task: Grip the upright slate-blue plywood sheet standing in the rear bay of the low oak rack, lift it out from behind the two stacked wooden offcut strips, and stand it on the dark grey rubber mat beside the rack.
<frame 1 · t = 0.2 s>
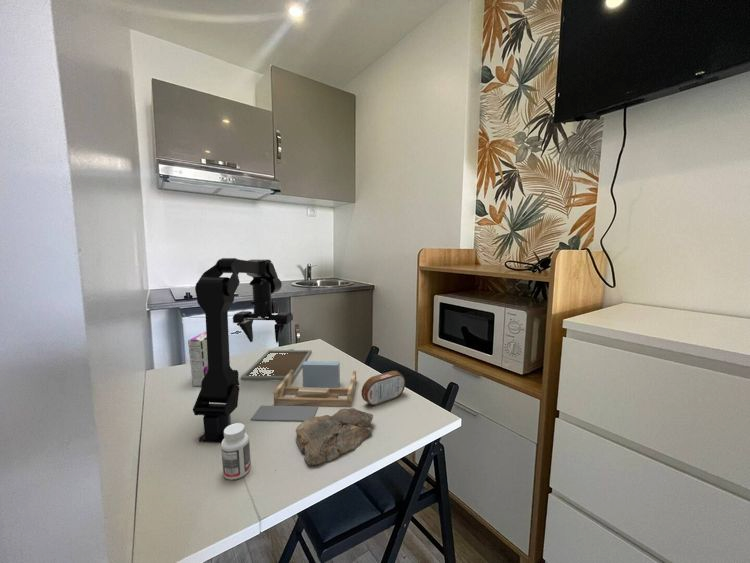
hand: (264, 342, 103), 15 cm above the table, tool pointing down, fingers open, 9 cm apart
brown rock: (338, 438, 75), on the table
sheet: (321, 385, 102), on the table
pill bottle: (237, 471, 64), on the table
offcut upper: (313, 395, 93), point 1 cm above the table, touching offcut lower
mat: (285, 414, 85), on the table
rack: (318, 392, 97), on the table
offcut lower: (316, 401, 93), on the table, touching offcut upper
grey picture frame: (281, 365, 121), on the table
candy bar box: (208, 380, 107), on the table
tin: (384, 401, 93), on the table
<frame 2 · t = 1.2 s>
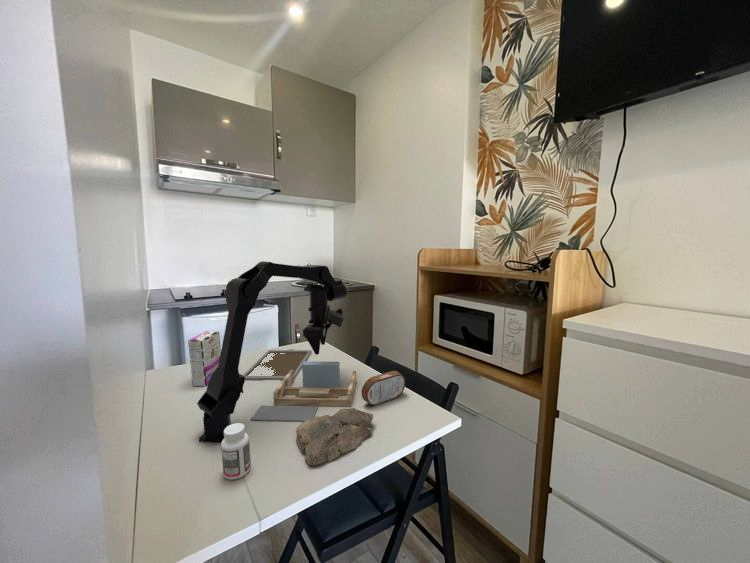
hand: (320, 349, 101), 13 cm above the table, tool pointing down, fingers open, 9 cm apart
nothing on the table moved.
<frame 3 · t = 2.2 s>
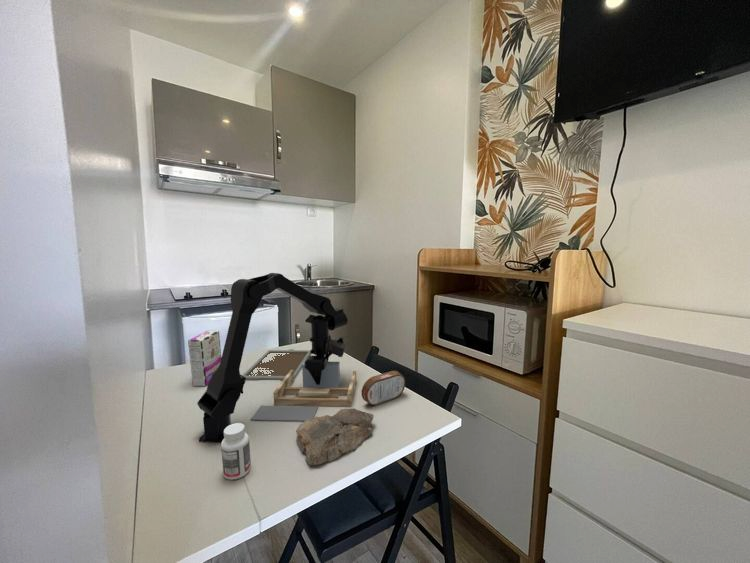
hand: (321, 378, 102), 3 cm above the table, tool pointing down, fingers open, 9 cm apart
nothing on the table moved.
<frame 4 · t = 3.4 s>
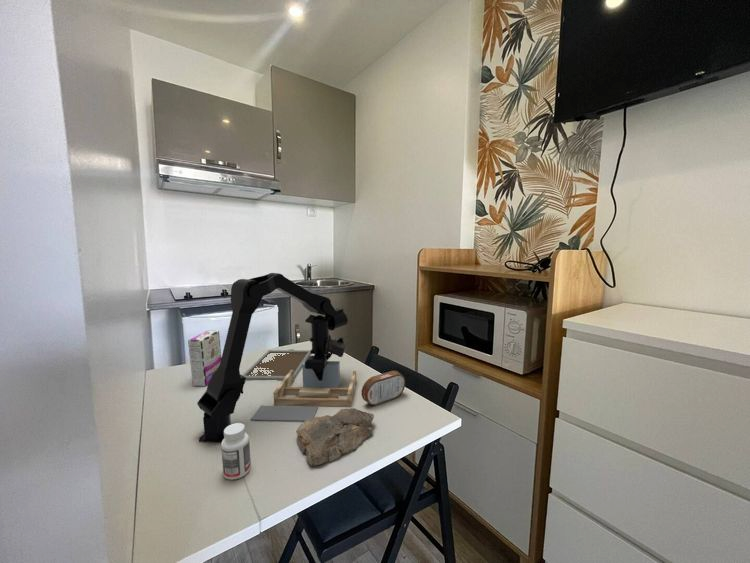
hand: (321, 378, 102), 3 cm above the table, tool pointing down, fingers closed on sheet, 3 cm apart
sheet: (321, 385, 102), on the table, touching gripper
offcut upper: (314, 395, 92), point 1 cm above the table
offcut lower: (316, 402, 93), on the table
everything else where it was.
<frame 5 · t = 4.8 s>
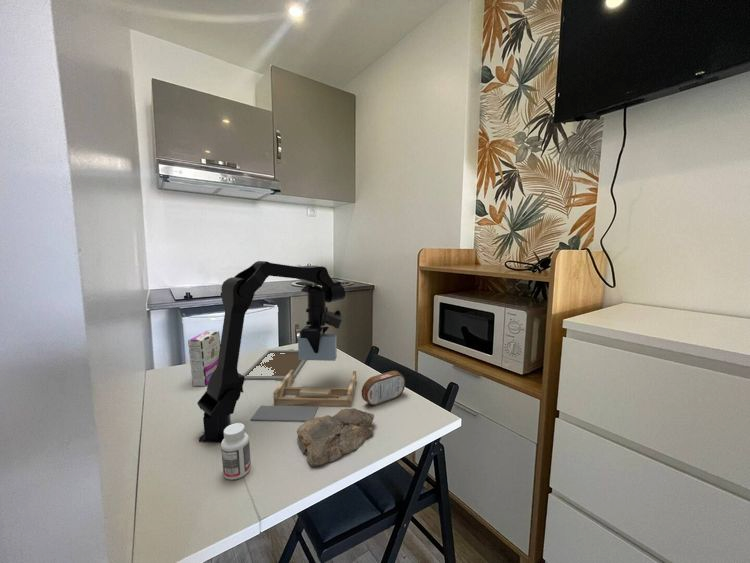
hand: (317, 351, 99), 13 cm above the table, tool pointing down, fingers closed on sheet, 3 cm apart
sheet: (317, 358, 100), point 10 cm above the table, touching gripper
offcut upper: (315, 396, 92), point 1 cm above the table, touching offcut lower
offcut lower: (316, 402, 92), on the table, touching offcut upper
everything else where it was.
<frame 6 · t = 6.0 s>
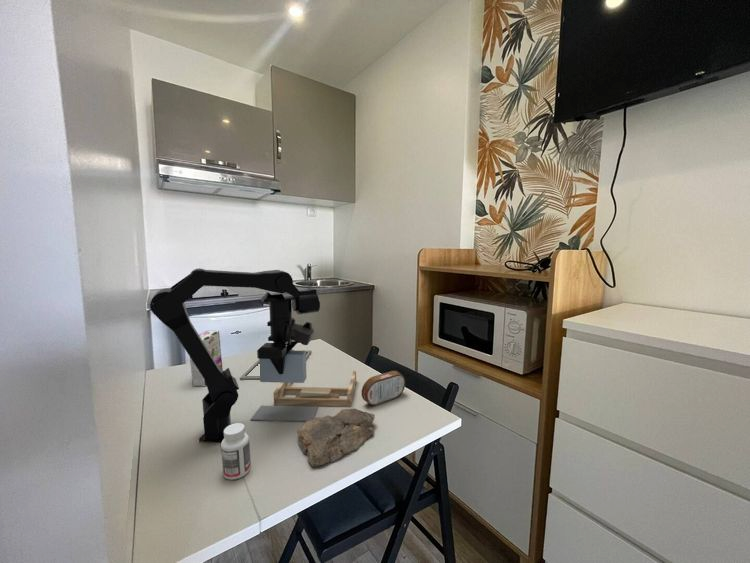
hand: (283, 371, 84), 13 cm above the table, tool pointing down, fingers closed on sheet, 3 cm apart
sheet: (283, 380, 84), point 10 cm above the table, touching gripper
offcut upper: (315, 396, 92), point 1 cm above the table
offcut lower: (317, 402, 93), on the table
everything else where it was.
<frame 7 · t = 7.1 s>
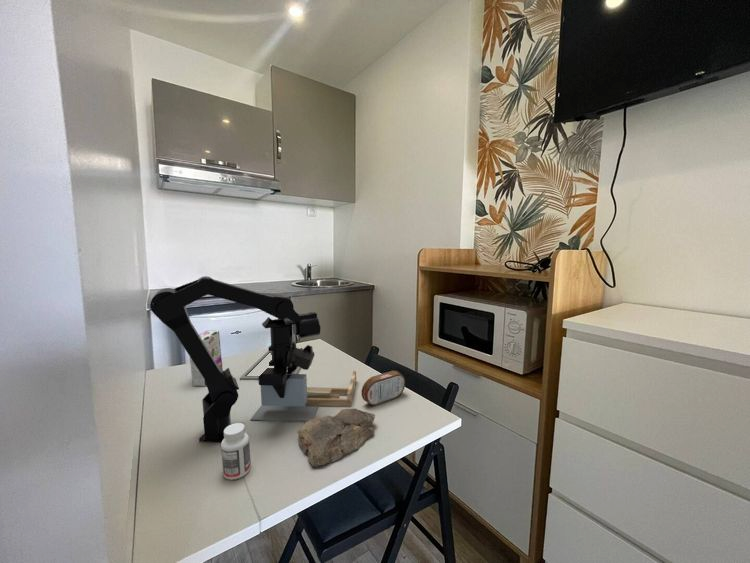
hand: (284, 394, 85), 6 cm above the table, tool pointing down, fingers closed on sheet, 3 cm apart
sheet: (284, 403, 85), point 3 cm above the table, touching gripper
offcut upper: (316, 395, 93), point 1 cm above the table, touching offcut lower
offcut lower: (317, 402, 93), on the table, touching offcut upper
everything else where it was.
when the fingers open (4 cm above the table, at t = 8.2 s): sheet stays where it is, resting on mat.
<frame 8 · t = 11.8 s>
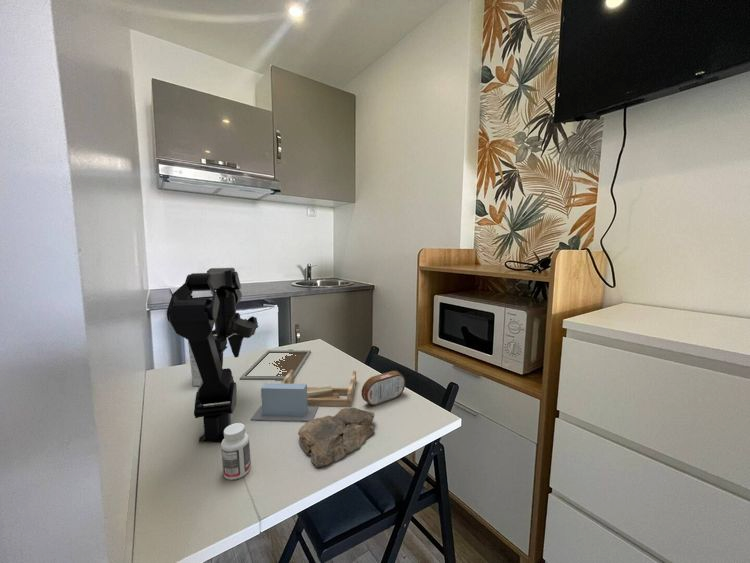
hand: (228, 363, 89), 13 cm above the table, tool pointing down, fingers open, 9 cm apart
sheet: (285, 412, 85), resting on mat
at the end: sheet inside the target area on the mat (0.0 cm from its centre), point 0.4 cm above the mat's base; sheet touching mat; the gripper is holding nothing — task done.
